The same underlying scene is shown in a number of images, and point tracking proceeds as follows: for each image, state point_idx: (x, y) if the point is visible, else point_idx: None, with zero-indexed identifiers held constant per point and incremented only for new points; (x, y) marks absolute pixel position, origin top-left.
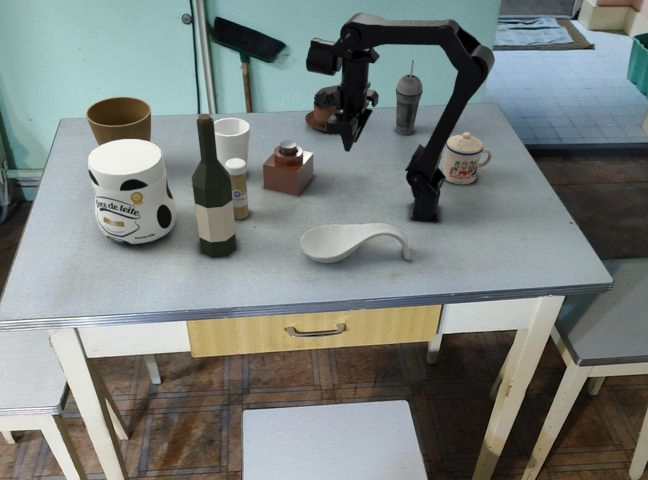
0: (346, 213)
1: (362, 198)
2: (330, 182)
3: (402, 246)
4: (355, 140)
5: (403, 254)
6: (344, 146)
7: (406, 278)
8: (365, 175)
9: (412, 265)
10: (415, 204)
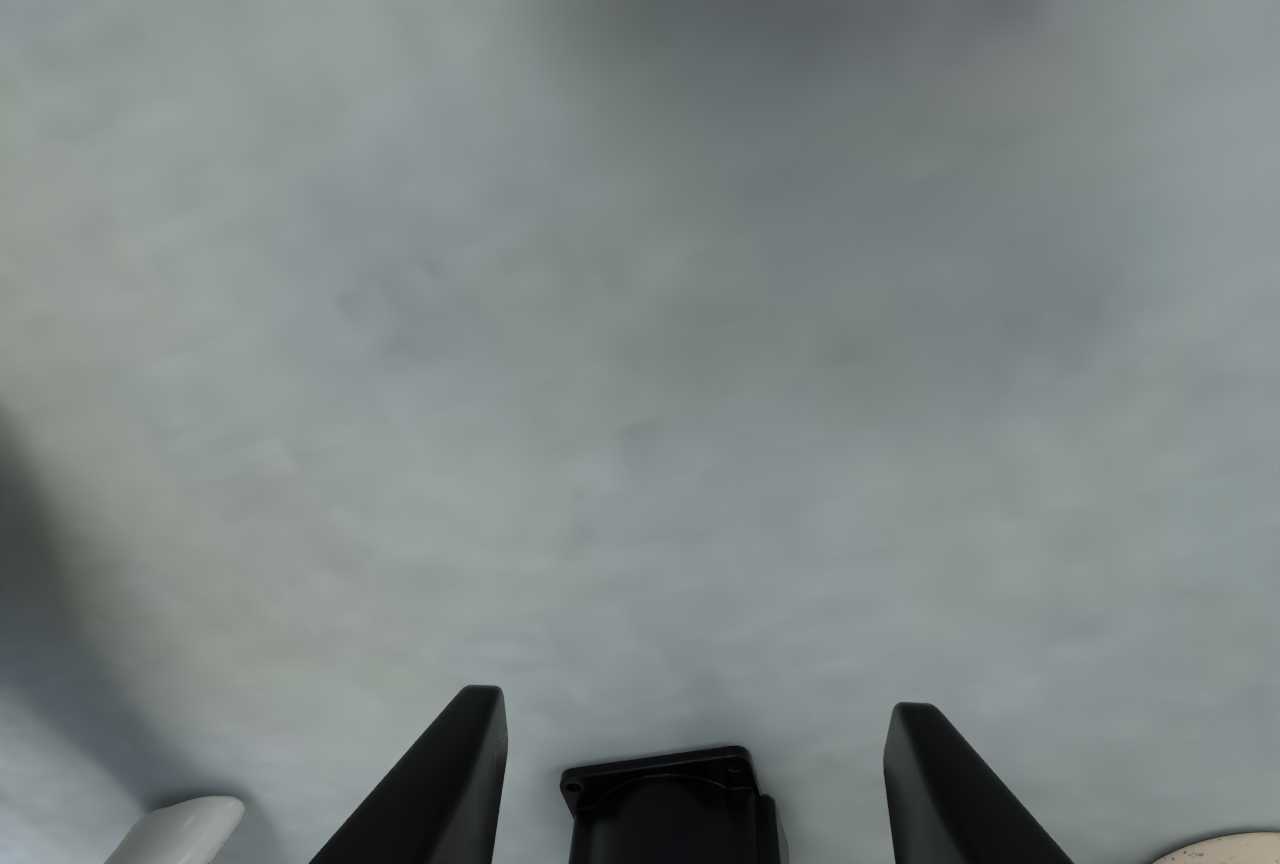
0: (408, 372)
1: (705, 425)
2: (907, 12)
3: (157, 836)
4: (891, 794)
5: (155, 814)
6: (403, 774)
7: (13, 834)
8: (1147, 333)
9: None
10: (609, 859)
